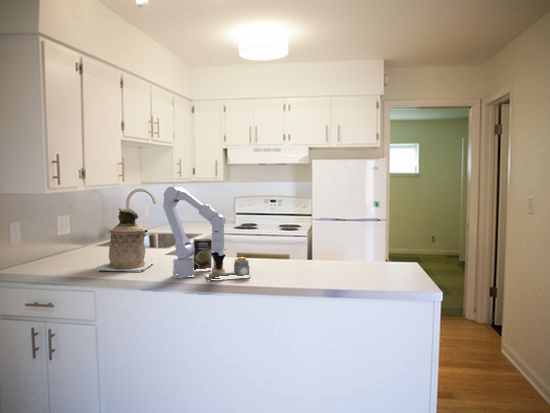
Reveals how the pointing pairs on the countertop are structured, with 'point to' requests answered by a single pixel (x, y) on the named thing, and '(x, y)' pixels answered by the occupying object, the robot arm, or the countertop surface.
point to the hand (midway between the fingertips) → (218, 267)
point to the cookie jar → (126, 245)
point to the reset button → (241, 258)
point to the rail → (222, 275)
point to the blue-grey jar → (241, 267)
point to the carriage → (217, 271)
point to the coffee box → (202, 253)
